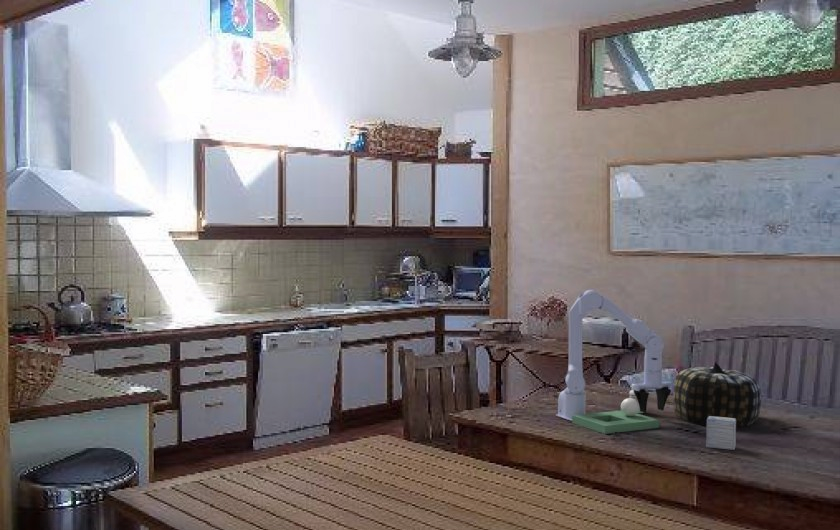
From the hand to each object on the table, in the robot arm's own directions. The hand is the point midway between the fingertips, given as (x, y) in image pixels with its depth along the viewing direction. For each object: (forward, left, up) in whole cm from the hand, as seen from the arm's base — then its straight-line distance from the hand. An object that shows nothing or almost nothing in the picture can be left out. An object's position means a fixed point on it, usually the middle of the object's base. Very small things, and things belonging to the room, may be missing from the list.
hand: (651, 410), depth 286 cm
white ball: (0, -9, +2) cm, 10 cm away
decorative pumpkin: (+5, +24, -4) cm, 24 cm away
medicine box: (+36, -5, -4) cm, 37 cm away
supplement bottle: (-14, +6, -4) cm, 16 cm away
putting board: (0, -15, -4) cm, 16 cm away
